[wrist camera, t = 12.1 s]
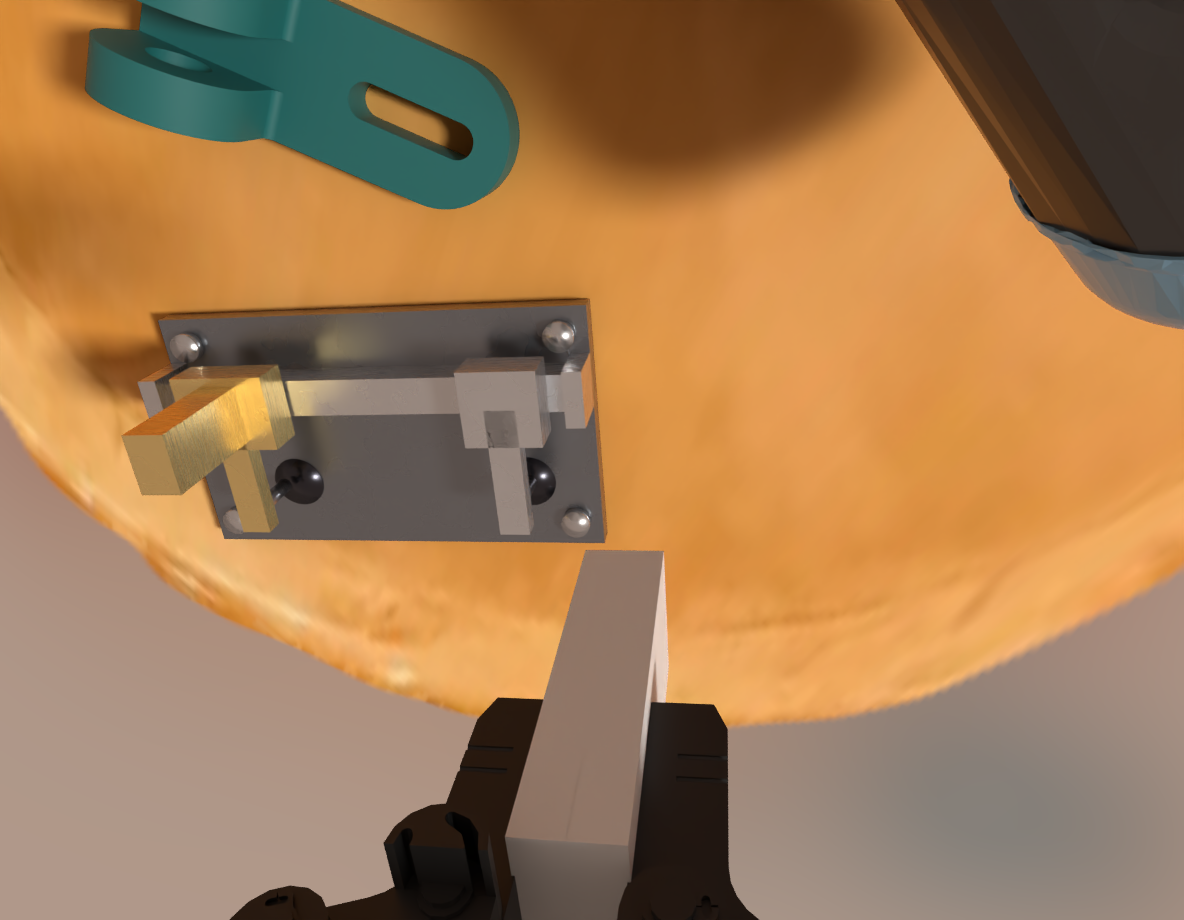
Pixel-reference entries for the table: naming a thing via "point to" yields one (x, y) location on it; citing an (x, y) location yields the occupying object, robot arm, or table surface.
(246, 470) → the sliding leg
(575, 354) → the grey long bar piece
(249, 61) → the bracket
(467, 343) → the bolt plate
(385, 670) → the table surface
